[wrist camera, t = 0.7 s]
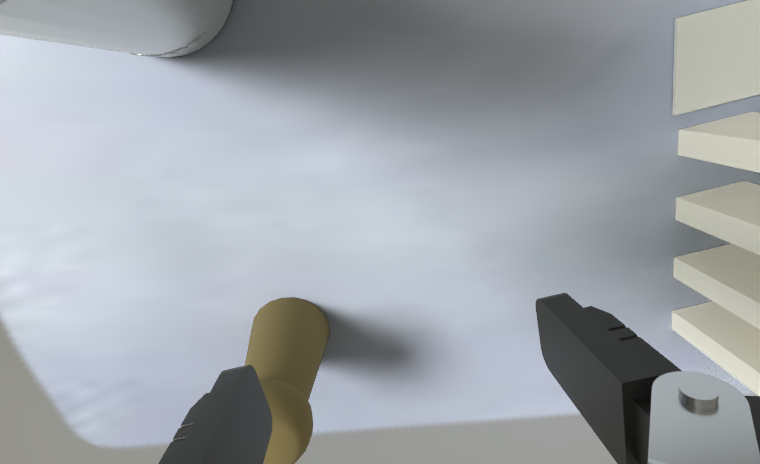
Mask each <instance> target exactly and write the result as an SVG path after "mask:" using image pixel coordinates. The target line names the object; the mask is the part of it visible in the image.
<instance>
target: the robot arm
mask: <svg viewBox="0 0 760 464" xmlns="http://www.w3.org/2000/svg"><path fill="white" fill-rule="evenodd" d="M232 3H233V0H0V34H1V35H8V36H15V37H22V38H29V39H36V40H42V41H49V42H56V43H63V44H70V45H77V46H84V47H91V48H98V49H105V50H112V51H119V52H126V53H129V54H135V55H141V56H150V57H151V56H152V57H155V56H156V57H168V58H169V57H176V56H183V55H187V54H189V53H192V52H194V51H197V50H199V49H201V48H202V47H203V46H205V45H206V44H207V43H209V42H210V41H212V40H213V38H214V37H215V36H216V35H217V34H218V32H219V31H220V30H221V29H222V28H223V26H224V24H225V22H226V20H227V18H228V16H229V14H230V11H231V7H232ZM536 312H537V320H538V328H539V336H540V343H541V350H542V354H543V357H544V360H545V362H546V365H547V367H548V369H549V370H550V372H551V373H552V375H553V376H554V377H555V379H556V380H557V381H558V383H559V384H560V385H561V387H562V388H563V390H564V391H565V392H566V394H567V395H568V396H569V398H570V399H571V401H572V402H573V403H574V405H575V406H576V407H577V409H578V410H579V411H580V413H581V414H582V416H583V417H584V418H585V420H586V421H587V422H588V424H589V425H590V426H591V428H592V429H593V431H594V432H595V433H596V435H597V436H598V437H599V439H600V440H601V441H602V443H603V444H604V446H605V447H606V448H607V450H608V451H609V452H610V454H611V455H612V457H613V458H614V459H615V461H616V462H617V463H618V464H760V396H744V395H743V394H742V393H741V392H740V391H739V390H737V389H736V388H735V387H733V386H732V385H730V384H728V383H727V382H725V381H723V380H721V379H718V378H715V377H713V376H710V375H706V374H702V373H697V372H689V371H681V370H680V369H679V368H678V367H676V366H675V365H674V364H673V363H671V362H670V361H669V360H668V359H666V358H665V357H664V356H663V355H661V354H660V353H659V352H658V351H656V350H655V349H654V348H653V347H651V346H650V345H649V344H648V343H646V342H645V341H644V340H643V339H641V338H640V337H639V338H638V337H637V335H636V334H635V333H634V332H633V331H632V330H630V329H629V328H626V327H625V325H624V324H623V323H622V322H620V321H619V320H618V319H617V318H615V317H614V316H613V315H612V314H610V313H607V312H605V311H602V310H600V309H597V308H595V307H592V306H590V307H585V308H583V307H582V306H580V305H579V304H578V303H577V302H576V301H575V300H574V299H572V298H571V297H570V296H569V295H568V294H566V293H562V294H557V295H553V296H549V297H544V298H540V299H537V301H536ZM271 433H272V414H271V410H270V407H269V404H268V402H267V399H266V396H265V394H264V391H263V389H262V386H261V383H260V381H259V378H258V376H257V373H256V371H255V369H254V367H253V366H252V365H246V366H242V367H237V368H233V369H229V370H224V371H222V372H221V374H220V375H219V377H218V379H217V381H216V383H215V385H214V386H213V388H212V390H211V392H210V393H206V394H205V395H204V396H203V397H202V398H201V399H200V400H199V401H198V402H197V403H196V404H195V405H194V406H193V407H192V408H191V409H190V410H189V412H188V414H187V416H186V417H185V419H184V421H183V422H182V424H181V428H179V429H178V431H177V433H176V434H175V436H174V438H173V442H171V443H170V445H169V447H168V448H167V450H166V452H165V453H164V455H163V457H162V459H161V460H160V462H159V464H263V462H264V458H265V455H266V451H267V448H268V444H269V441H270V437H271Z"/></svg>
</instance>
